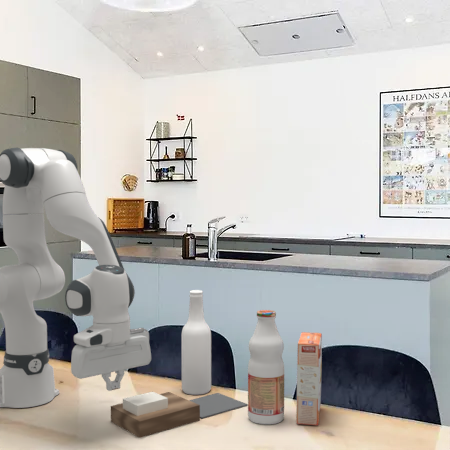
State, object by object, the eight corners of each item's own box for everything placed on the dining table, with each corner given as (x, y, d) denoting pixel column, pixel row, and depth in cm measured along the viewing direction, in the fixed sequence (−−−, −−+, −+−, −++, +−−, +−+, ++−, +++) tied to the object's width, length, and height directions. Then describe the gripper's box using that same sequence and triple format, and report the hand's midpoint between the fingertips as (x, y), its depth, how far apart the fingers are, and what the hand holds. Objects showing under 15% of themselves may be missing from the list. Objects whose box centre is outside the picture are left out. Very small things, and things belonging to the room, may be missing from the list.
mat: (172, 405, 164) (172, 404, 164) (217, 394, 174) (217, 392, 174) (201, 418, 154) (201, 417, 154) (247, 405, 164) (247, 404, 164)
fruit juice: (259, 427, 148) (259, 316, 147) (241, 415, 157) (241, 309, 156) (291, 421, 152) (291, 313, 151) (272, 410, 161) (272, 307, 160)
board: (110, 421, 152) (110, 406, 152) (169, 406, 164) (168, 391, 164) (139, 437, 142) (139, 421, 142) (199, 420, 153) (199, 405, 153)
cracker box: (319, 426, 149) (320, 343, 148) (295, 425, 150) (295, 342, 149) (322, 408, 162) (322, 332, 162) (299, 406, 164) (300, 331, 163)
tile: (122, 408, 151) (122, 398, 150) (152, 400, 156) (152, 391, 156) (137, 415, 145) (137, 405, 145) (167, 407, 151) (167, 398, 151)
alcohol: (217, 391, 177) (217, 291, 176) (194, 397, 171) (193, 293, 170) (198, 384, 184) (198, 287, 183) (175, 390, 178) (175, 290, 177)
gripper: (141, 324, 153) (143, 378, 153) (67, 336, 140) (68, 395, 140) (155, 328, 148) (156, 383, 148) (79, 341, 135) (81, 401, 135)
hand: (113, 389), depth 144 cm, fingers closed
